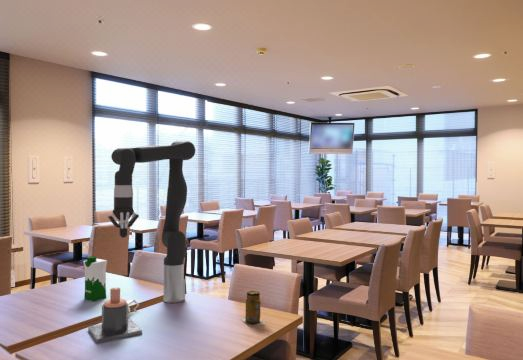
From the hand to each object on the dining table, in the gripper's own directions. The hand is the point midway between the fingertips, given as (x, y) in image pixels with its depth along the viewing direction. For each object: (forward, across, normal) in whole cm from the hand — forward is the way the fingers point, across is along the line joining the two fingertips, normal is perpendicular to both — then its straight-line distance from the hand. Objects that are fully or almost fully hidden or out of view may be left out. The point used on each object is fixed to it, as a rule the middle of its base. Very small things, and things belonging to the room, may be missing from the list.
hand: (123, 237), depth 177 cm
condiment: (+33, -42, +36) cm, 65 cm away
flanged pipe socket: (+33, +8, +17) cm, 38 cm away
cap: (+25, +8, +17) cm, 31 cm away
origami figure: (+33, -2, -1) cm, 33 cm away
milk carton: (+33, +4, -30) cm, 45 cm away
